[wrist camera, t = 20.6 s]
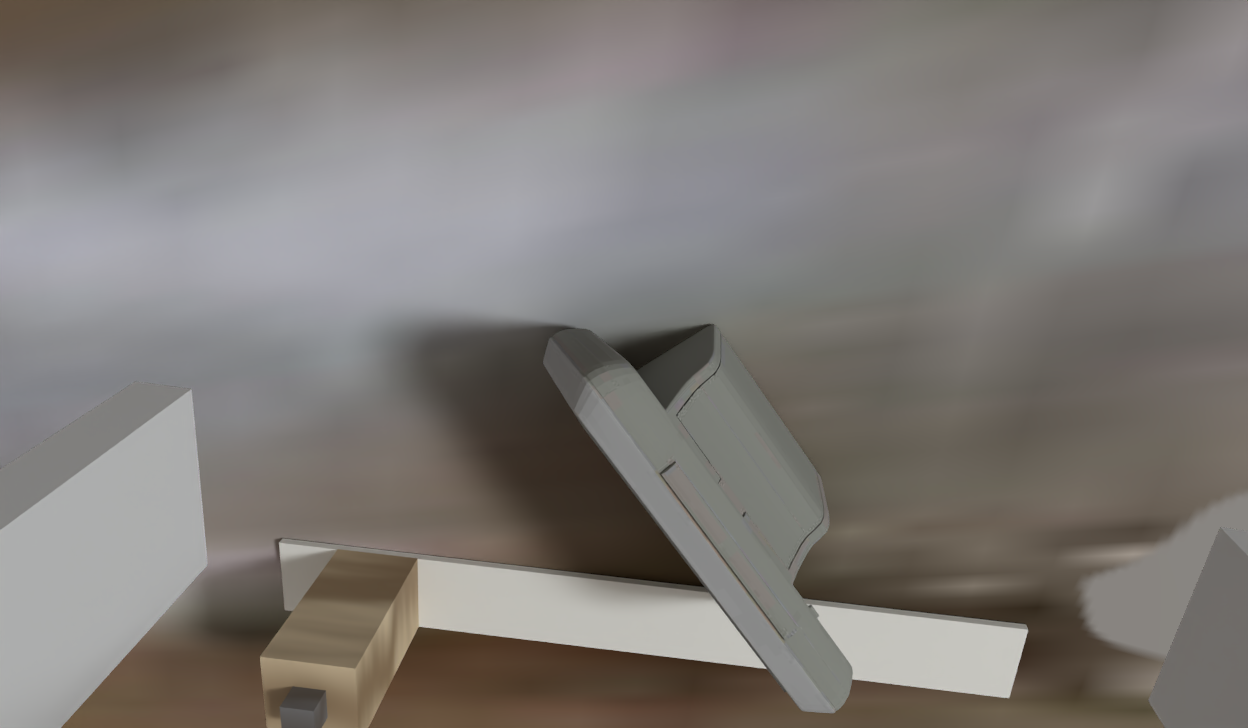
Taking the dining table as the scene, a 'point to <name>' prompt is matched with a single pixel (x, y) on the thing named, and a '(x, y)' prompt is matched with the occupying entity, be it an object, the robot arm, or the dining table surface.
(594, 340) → the digital clock
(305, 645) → the tan wooden block
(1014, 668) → the lath
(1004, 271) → the dining table surface
